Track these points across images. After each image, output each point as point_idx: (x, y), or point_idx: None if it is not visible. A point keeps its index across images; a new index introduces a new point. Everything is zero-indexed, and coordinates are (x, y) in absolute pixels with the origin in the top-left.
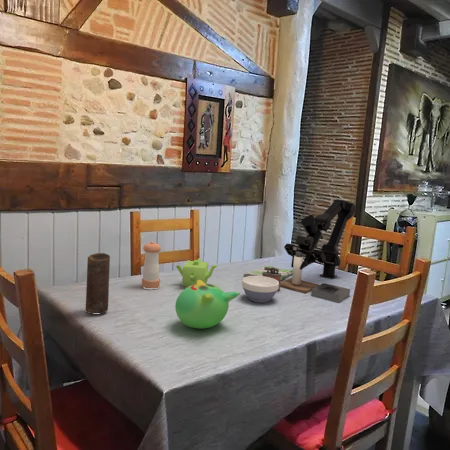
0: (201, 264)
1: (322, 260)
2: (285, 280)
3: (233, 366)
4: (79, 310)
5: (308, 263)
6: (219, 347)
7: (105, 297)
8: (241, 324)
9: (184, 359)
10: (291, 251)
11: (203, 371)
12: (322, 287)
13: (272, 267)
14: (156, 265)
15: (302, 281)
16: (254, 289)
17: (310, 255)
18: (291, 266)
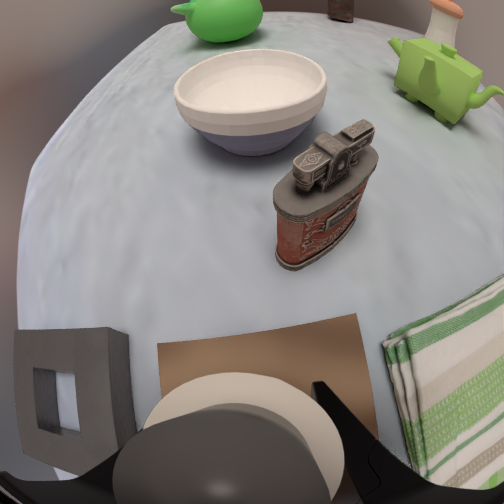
0: (446, 57)
1: (8, 496)
2: (374, 422)
3: (138, 46)
4: (353, 19)
5: None
6: (169, 42)
7: (329, 1)
8: (184, 62)
9: (182, 28)
10: (487, 493)
11: (157, 34)
12: (84, 398)
13: (333, 137)
14: (431, 30)
15: None
16: (227, 63)
17: (26, 485)
18: (319, 383)
